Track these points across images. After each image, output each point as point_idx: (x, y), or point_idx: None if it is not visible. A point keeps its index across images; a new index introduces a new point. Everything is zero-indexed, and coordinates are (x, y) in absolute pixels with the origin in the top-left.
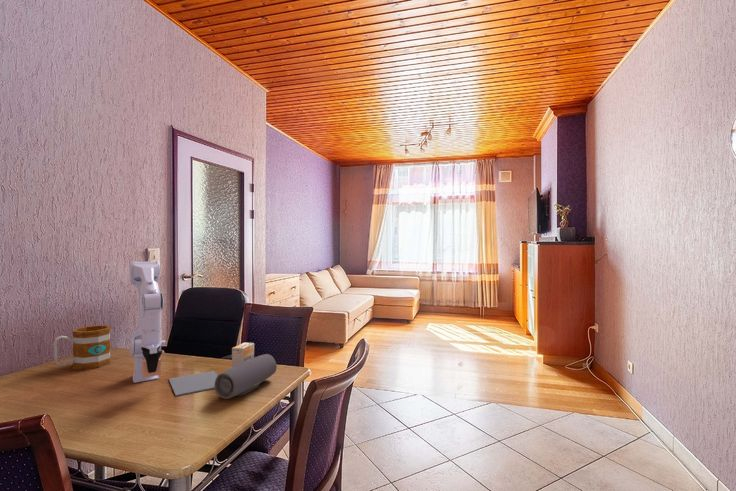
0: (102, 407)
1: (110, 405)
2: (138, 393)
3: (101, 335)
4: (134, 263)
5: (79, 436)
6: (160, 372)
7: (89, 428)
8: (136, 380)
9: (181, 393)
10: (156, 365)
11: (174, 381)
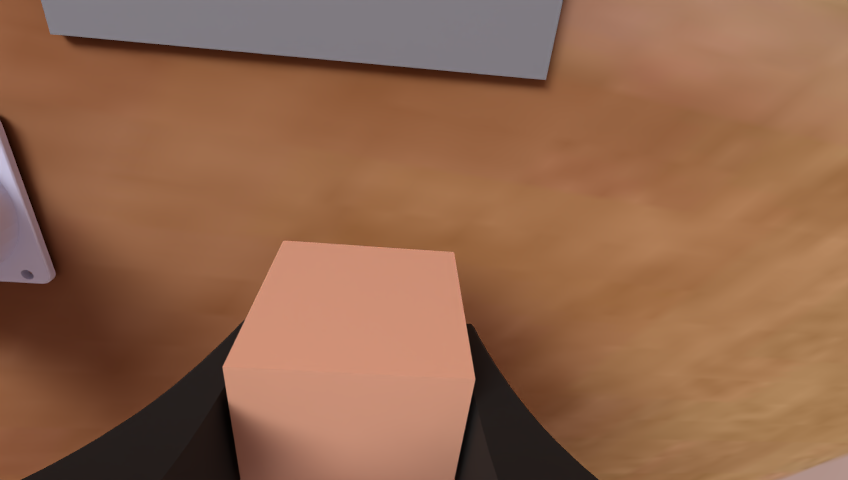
0: None
1: None
2: None
3: None
4: None
5: (672, 474)
6: (454, 267)
7: (627, 454)
8: (24, 266)
9: (546, 28)
10: (496, 376)
11: (170, 4)
